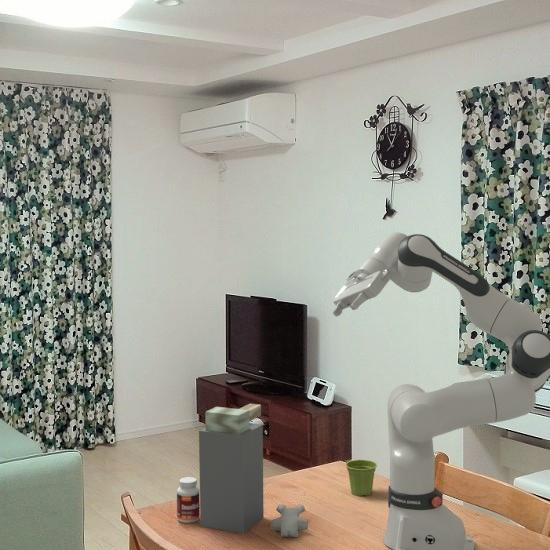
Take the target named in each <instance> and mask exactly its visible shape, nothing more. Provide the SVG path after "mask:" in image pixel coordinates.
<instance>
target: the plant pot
mask: <svg viewBox="0 0 550 550" xmlns="http://www.w3.org/2000/svg"><path fill="white" fill-rule="evenodd" d="M345 467H346V471H347V473H348V477H349V479H348V480H349V485H350V492H351V494H352V495H354V496H357V497H361V496H370V495H371V494H372V493H373V487H374V480H375V479H374V478H375V472H376V470H377V469H376V468H377V467H378V464H377V463H376V462H375V461H372V460H368V459H354V460H350V461H349V460H348V461H347V462H346V463H345Z"/></svg>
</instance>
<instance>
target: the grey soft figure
mask: <svg viewBox="0 0 550 550" xmlns="http://www.w3.org/2000/svg"><path fill="white" fill-rule="evenodd" d="M276 511H277V513H279V514H280V517H277V518H275V519H271V530H275V531H279V532H280V533H281V534H280V536H281V538H282V537H283V538H284V537H285V538H286V537H287V538H288V537H289V538H291V537H292V538H293V537H295V538H298V536H299V532H302V531H306V530H309V521H308V520H307V519H304V518H303V517H300V515H301V514H303V513H304V512H306V508H305V506H304V504H297V505H295V507H287V506H286V505H284V504H278V505H277V506H276Z"/></svg>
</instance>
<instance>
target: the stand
mask: <svg viewBox="0 0 550 550" xmlns="http://www.w3.org/2000/svg"><path fill="white" fill-rule="evenodd" d="M249 425H250V429H248V430H246V431H244V432H243V433H241V434H232V433H224V432H215V431H207V430H206V426H205V427H202V428H201V429H200V430H198V448H199V449H198V453H199V460H198V461H199V462H198V463H199V504H200V517H199V519H200V520H199V521H200V522H199V523H200V527H204V528H209V529H216V530H221V531H227V532H231V533H237V534H243V535H245V534H246V533H247V532H248V531H249V530H250V529H252V528H253V527H254V526H255V525H257V524H258V523H259V522H260V521H261V520H262V519H264V518H265V516H264V515H265V514H264V513H265V512H264V510H265V509H264V440H263V439H264V437H263V436H264V435H263V434H264V431H263V430H264V429H263V428H264V427H263V425H264V424H262V423H261V424H260V423H250V422H249Z"/></svg>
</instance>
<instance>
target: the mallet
mask: <svg viewBox="0 0 550 550" xmlns="http://www.w3.org/2000/svg"><path fill="white" fill-rule="evenodd" d="M261 415H262V404H256V403H249V404H246V405H244V406H242V407H240V408H231V407H223V406H222V407H221V406H215V407H213V408H210V409H208V410H206V411H205V416H204V417H205V427H206V430H207V431H215V432H224V433H232V434H241V433H243V432H244V431H246V430H248V429H250V425H249V423H250V422H251V421H253V420H255V419H257V418H258V417H261Z"/></svg>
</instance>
